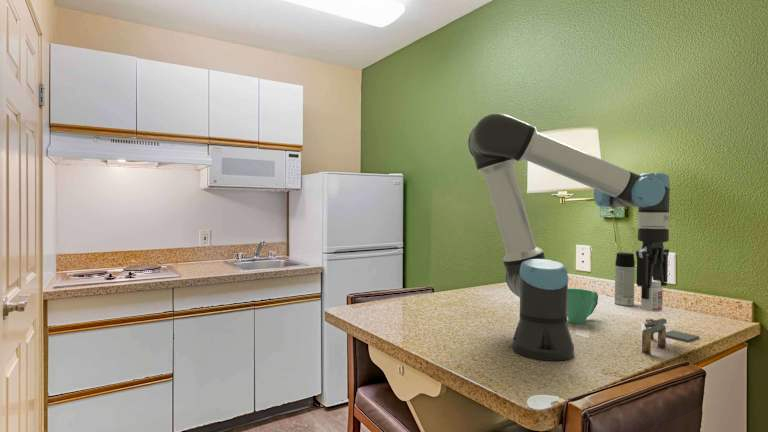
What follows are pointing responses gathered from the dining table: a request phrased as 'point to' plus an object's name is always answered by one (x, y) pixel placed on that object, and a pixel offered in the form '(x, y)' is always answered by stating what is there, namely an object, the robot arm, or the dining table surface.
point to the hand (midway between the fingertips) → (651, 308)
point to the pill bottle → (656, 296)
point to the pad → (681, 336)
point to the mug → (580, 304)
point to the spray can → (624, 279)
